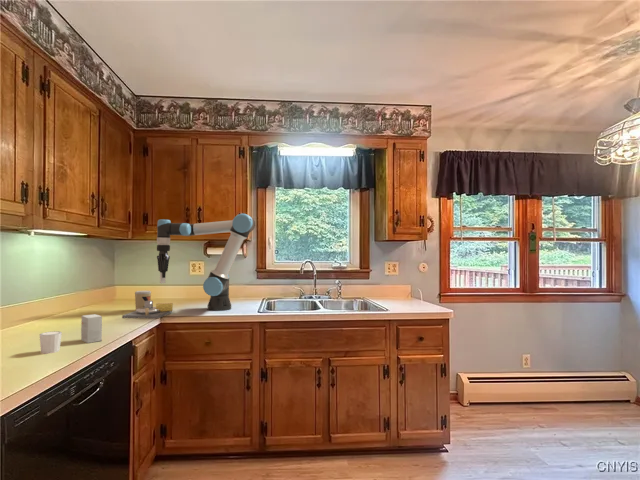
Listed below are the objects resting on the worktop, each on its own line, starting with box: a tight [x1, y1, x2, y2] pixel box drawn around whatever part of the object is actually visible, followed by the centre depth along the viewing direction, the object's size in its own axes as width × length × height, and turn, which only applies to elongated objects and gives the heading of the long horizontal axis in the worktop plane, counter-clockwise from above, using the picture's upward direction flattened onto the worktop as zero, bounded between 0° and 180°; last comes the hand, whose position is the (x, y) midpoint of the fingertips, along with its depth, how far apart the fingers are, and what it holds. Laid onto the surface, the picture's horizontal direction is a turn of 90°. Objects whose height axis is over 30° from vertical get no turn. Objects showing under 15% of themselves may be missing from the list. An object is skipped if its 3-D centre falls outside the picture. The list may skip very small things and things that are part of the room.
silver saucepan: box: [135, 300, 174, 314], centre depth 220 cm, size 20×13×6 cm, turn 115°
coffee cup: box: [134, 290, 152, 310], centre depth 235 cm, size 9×9×12 cm
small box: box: [80, 313, 103, 344], centre depth 159 cm, size 8×6×10 cm
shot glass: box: [39, 330, 63, 355], centre depth 142 cm, size 7×7×7 cm
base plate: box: [122, 308, 173, 319], centre depth 219 cm, size 20×20×6 cm
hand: (162, 282), depth 229 cm, fingers closed
